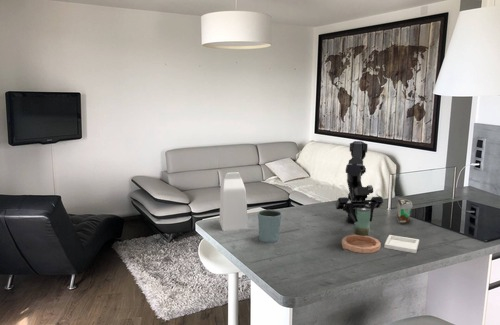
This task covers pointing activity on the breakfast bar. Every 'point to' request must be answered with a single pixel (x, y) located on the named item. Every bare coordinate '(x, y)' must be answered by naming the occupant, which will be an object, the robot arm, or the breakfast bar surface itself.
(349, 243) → the bowl
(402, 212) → the food container
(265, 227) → the blue-grey cup
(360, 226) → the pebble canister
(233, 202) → the milk
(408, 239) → the tray
